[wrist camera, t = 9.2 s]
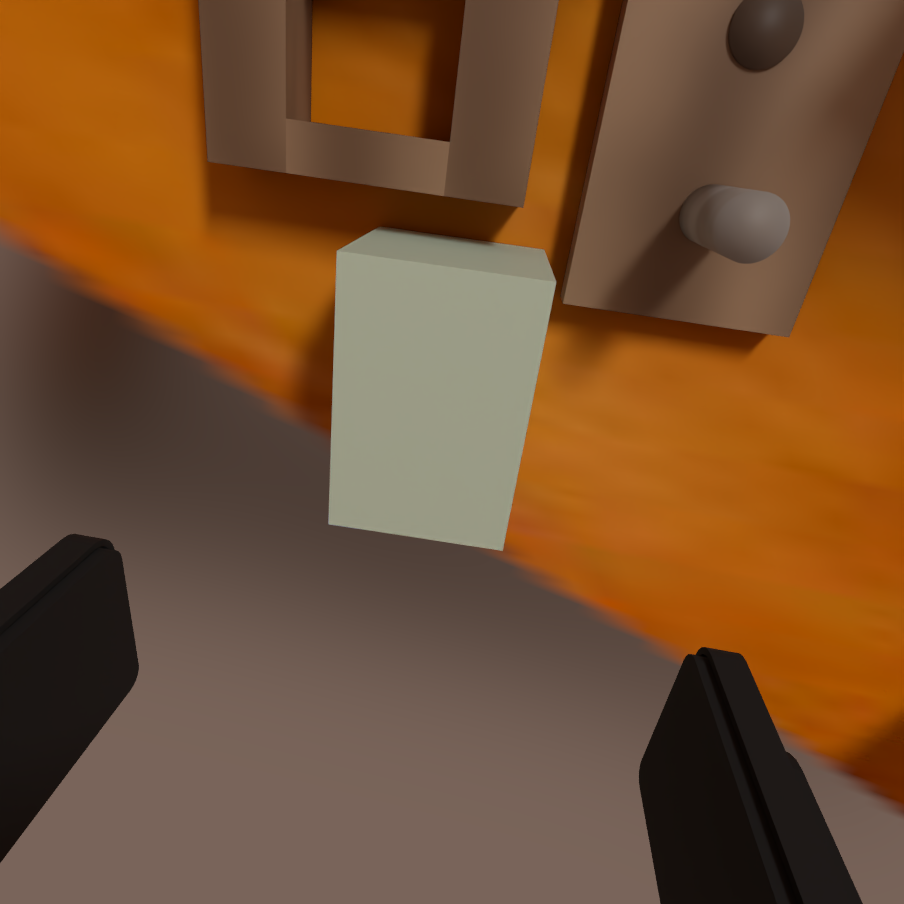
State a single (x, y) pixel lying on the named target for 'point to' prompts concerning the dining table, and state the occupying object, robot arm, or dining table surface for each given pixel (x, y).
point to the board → (727, 155)
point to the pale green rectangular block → (433, 382)
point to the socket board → (369, 152)
